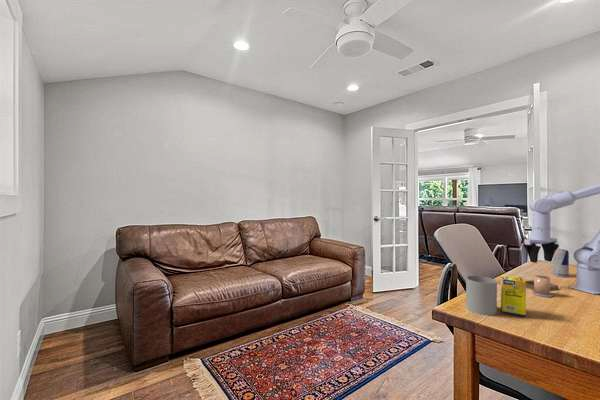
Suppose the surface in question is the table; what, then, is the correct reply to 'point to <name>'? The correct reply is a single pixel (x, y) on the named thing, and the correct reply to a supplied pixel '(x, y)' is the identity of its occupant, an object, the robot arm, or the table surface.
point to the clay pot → (542, 285)
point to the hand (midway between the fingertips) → (540, 261)
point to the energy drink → (561, 263)
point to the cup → (481, 295)
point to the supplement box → (513, 295)
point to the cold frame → (531, 285)
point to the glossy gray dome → (543, 295)
